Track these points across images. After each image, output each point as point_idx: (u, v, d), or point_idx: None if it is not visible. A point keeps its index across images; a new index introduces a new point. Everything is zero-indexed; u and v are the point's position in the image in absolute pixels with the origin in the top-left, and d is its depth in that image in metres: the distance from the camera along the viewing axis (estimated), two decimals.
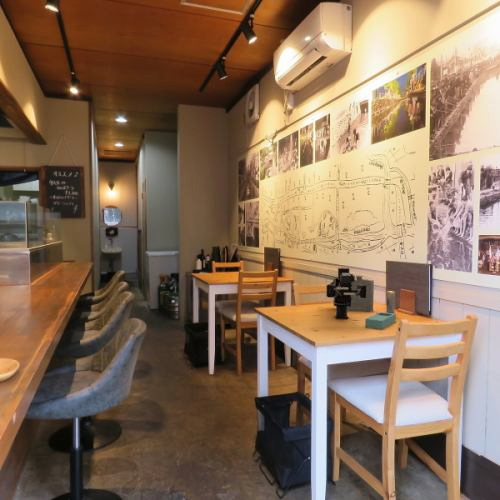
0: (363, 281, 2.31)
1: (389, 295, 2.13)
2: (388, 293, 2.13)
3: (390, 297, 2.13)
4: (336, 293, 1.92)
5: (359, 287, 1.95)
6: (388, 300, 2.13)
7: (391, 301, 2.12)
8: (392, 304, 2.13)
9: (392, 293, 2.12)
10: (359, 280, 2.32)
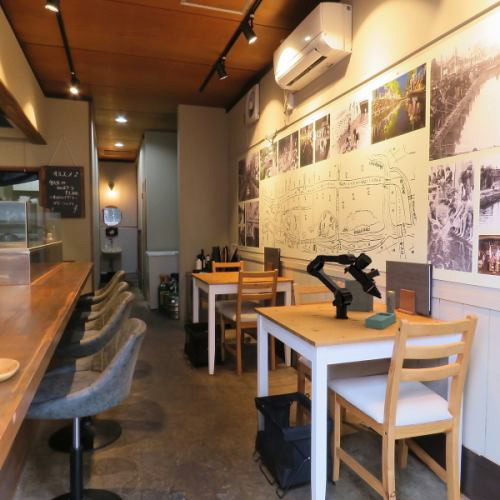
0: None
1: (389, 295, 2.13)
2: (388, 293, 2.13)
3: (390, 297, 2.13)
4: (378, 296, 2.00)
5: None
6: (388, 300, 2.13)
7: (391, 301, 2.12)
8: (392, 304, 2.13)
9: (392, 293, 2.12)
10: None
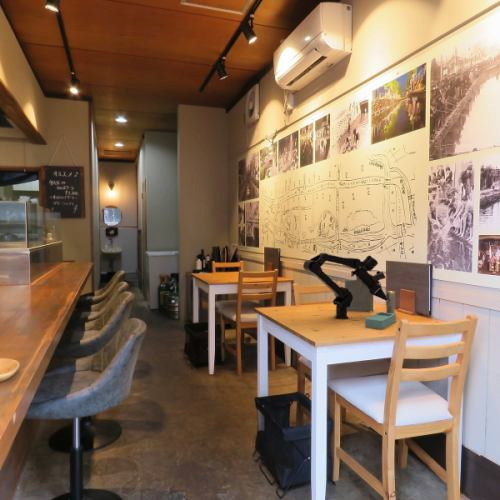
0: None
1: (389, 295, 2.13)
2: (388, 293, 2.13)
3: (390, 297, 2.13)
4: (384, 297, 2.10)
5: (380, 285, 2.21)
6: (388, 300, 2.13)
7: (391, 301, 2.12)
8: (392, 304, 2.13)
9: (392, 293, 2.12)
10: (359, 280, 2.32)
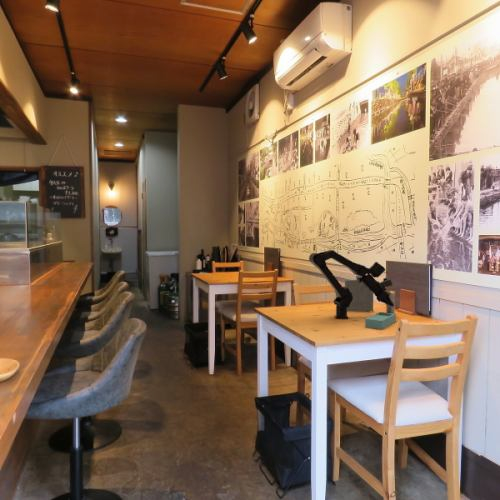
0: None
1: (389, 295, 2.13)
2: None
3: (390, 297, 2.13)
4: (390, 304, 2.12)
5: None
6: None
7: None
8: None
9: (392, 293, 2.12)
10: None
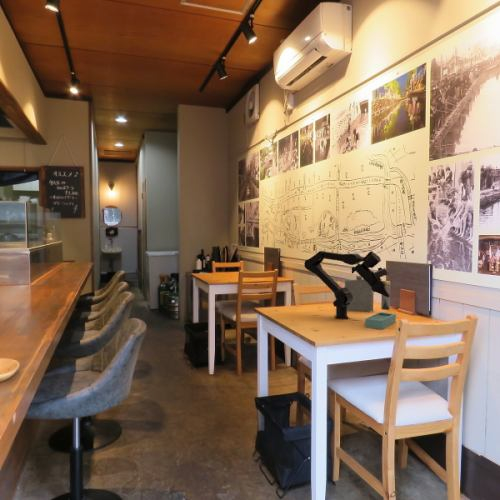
0: (363, 281, 2.31)
1: (384, 285, 2.03)
2: None
3: (385, 287, 2.03)
4: (386, 294, 2.02)
5: None
6: None
7: None
8: None
9: (387, 283, 2.03)
10: (359, 280, 2.32)
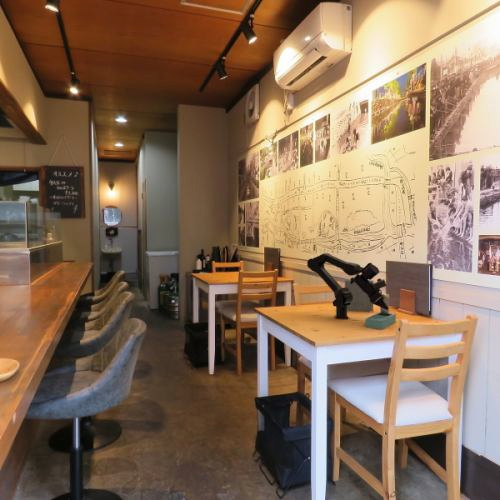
0: None
1: (383, 299, 2.02)
2: None
3: (384, 301, 2.02)
4: (385, 307, 1.99)
5: (381, 293, 2.09)
6: None
7: None
8: None
9: (386, 296, 2.01)
10: None
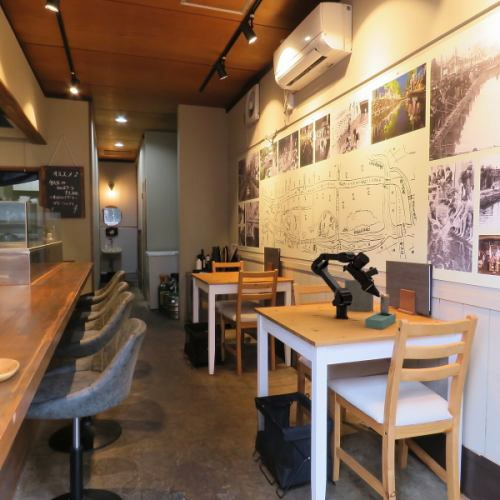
0: None
1: (383, 299, 2.02)
2: (382, 296, 2.02)
3: (384, 301, 2.02)
4: (376, 294, 1.99)
5: (373, 282, 2.10)
6: (382, 304, 2.02)
7: (385, 305, 2.02)
8: (386, 308, 2.02)
9: (386, 296, 2.01)
10: None
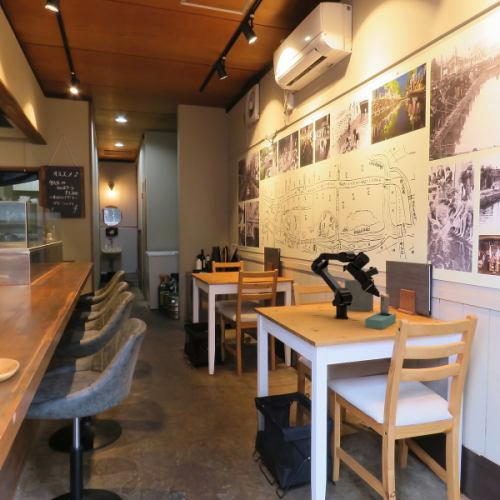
0: None
1: (383, 299, 2.02)
2: (382, 296, 2.02)
3: (384, 301, 2.02)
4: (376, 294, 1.99)
5: (373, 282, 2.10)
6: (382, 304, 2.03)
7: (385, 305, 2.02)
8: (386, 308, 2.02)
9: (386, 296, 2.02)
10: None
